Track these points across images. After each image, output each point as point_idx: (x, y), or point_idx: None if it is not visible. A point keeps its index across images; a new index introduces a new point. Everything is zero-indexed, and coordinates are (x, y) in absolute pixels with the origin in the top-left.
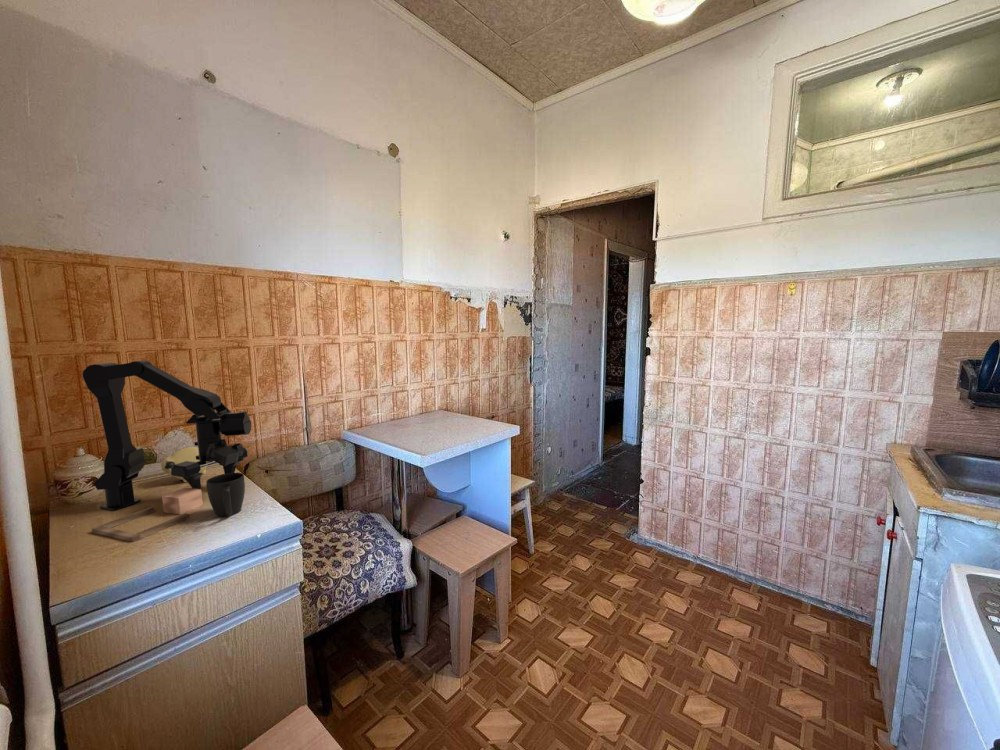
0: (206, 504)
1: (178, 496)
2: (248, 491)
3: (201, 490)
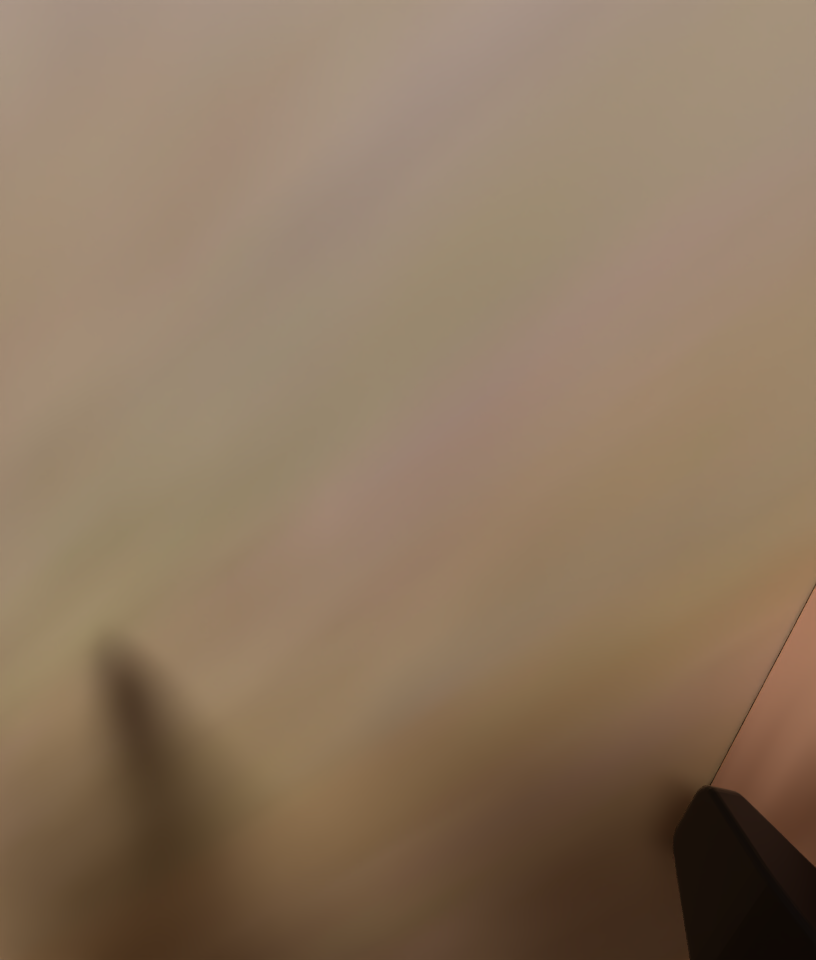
0: (804, 506)
1: None
2: (4, 3)
3: (771, 874)
